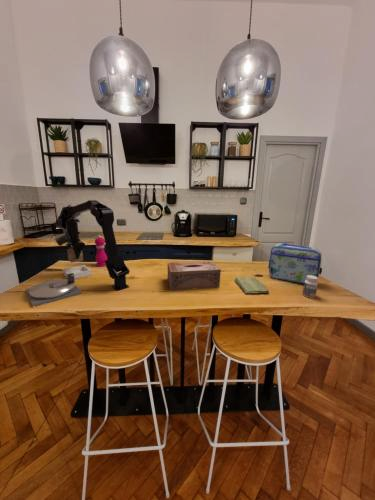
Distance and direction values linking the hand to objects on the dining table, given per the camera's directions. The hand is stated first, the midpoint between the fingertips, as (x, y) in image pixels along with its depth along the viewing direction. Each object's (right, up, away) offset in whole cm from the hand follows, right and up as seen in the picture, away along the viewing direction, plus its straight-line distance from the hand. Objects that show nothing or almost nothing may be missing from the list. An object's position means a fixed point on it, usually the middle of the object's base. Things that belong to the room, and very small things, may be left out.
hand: (75, 257), depth 119 cm
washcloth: (+97, -16, -7) cm, 98 cm away
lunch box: (+123, -13, +4) cm, 124 cm away
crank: (0, -15, -19) cm, 24 cm away
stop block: (0, -1, 0) cm, 2 cm away
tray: (0, -10, +3) cm, 10 cm away
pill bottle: (+123, -18, -15) cm, 125 cm away
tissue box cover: (+66, -14, -4) cm, 68 cm away
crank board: (0, -16, -19) cm, 25 cm away
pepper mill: (+7, -6, +19) cm, 21 cm away
